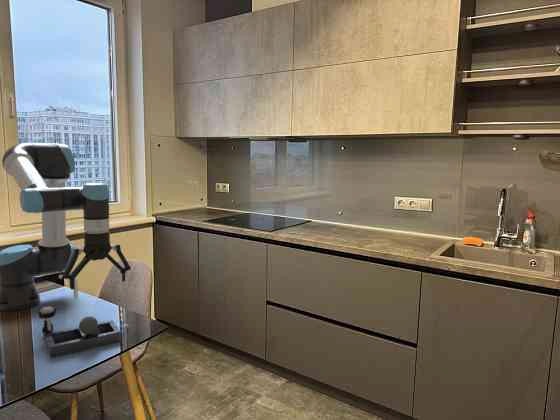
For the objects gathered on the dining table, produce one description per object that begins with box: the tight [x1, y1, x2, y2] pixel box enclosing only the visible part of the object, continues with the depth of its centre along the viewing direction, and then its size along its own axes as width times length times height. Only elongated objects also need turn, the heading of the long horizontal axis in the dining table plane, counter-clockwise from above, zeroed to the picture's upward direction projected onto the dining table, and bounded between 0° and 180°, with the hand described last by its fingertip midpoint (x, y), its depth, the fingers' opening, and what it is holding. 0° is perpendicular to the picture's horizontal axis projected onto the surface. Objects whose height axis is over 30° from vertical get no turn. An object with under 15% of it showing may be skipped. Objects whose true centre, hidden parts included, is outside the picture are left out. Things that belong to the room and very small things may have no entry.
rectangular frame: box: [44, 319, 122, 359], centre depth 132 cm, size 11×20×4 cm, turn 126°
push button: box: [37, 306, 57, 339], centre depth 135 cm, size 7×5×10 cm
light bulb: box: [78, 316, 101, 337], centre depth 131 cm, size 6×6×10 cm
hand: (98, 294), depth 133 cm, fingers open, 13 cm apart
